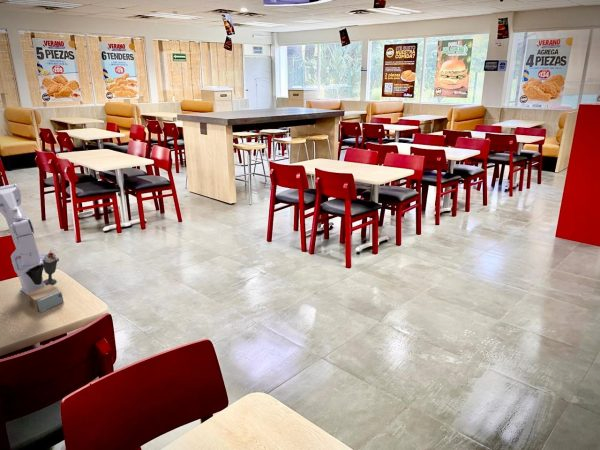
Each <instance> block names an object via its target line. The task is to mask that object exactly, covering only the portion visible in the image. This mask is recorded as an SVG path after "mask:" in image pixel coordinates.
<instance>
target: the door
mask: <svg viewBox="0 0 600 450" xmlns="http://www.w3.org/2000/svg"><path fill="white" fill-rule="evenodd" d="M64 302H65V301H64V297H63V294H62V291H61V290H60V291H59V292H56V293H54V294H52V295H49V296H47V297H45V298H42V299H40V300H38V301H37V304H38V307H39V311H40V312H39V313H42V312H44V311H47V310H49V309H51V308H53V307H55V306H58V305H60V304H63V303H64Z"/></svg>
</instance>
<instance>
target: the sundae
mask: <svg viewBox="0 0 600 450" xmlns="http://www.w3.org/2000/svg"><path fill="white" fill-rule="evenodd" d="M46 254H47V257H48V258H47V259H44V260H43V264H44V268H43V271H44V273H46V274H47V275H48V277H47V279H45V280H44V279H43V281H44V284H45V285H49V284H51V285H53V284H56V283H57V280H56V279H55V278H53V277H52V276H53V274H55V273H56V270H57V263H58V262H60V258H59V257H57V256H56V253H54V252H52V250H50V251H49V253H46Z"/></svg>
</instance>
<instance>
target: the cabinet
mask: <svg viewBox="0 0 600 450" xmlns="http://www.w3.org/2000/svg"><path fill="white" fill-rule="evenodd" d="M45 285H46V286H43V287H41V288H38V289H36V290H33V291H31V292H28V293H26V294H25V295H26V300H27V302H28V304H29V306H30V307H32V308H33V309H34V310H35V311H37V312H38V313H41V312H40V311H39V307H38V304H37V301H38V300H40V299H42V298H45V297H47V296H49V295H52V294H54V293H56V292H59V291H61V290H60V289H58V288H57V287H55V286H53V284H45Z"/></svg>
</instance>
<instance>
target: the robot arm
mask: <svg viewBox="0 0 600 450" xmlns="http://www.w3.org/2000/svg"><path fill="white" fill-rule="evenodd" d="M21 195H22V194H21V190H20V188H19V185H18V184H16V183H13V184H7V185H3V186H0V211H1V213H2V214H3V216H4V218H5V220H6V223H7V227H8V230H9V231H10V235H11V237H12V241H13V244H14V246H15V250H14V251H13V252H12V253H11V255H10V259H11V264H12V266H13V270H14V272H15V273H16V275H17V277H18V278H19V281H20V284H21V287H20V288H19V290H20V291H22V292H23V293H24V294H25V295H26V293H28V292H31V291H33V290H36V289H38V288H41V287H43V286H46V285H47V284H45V283H44V278H43V272H44V264H43V260H44V259H47V258H48V257H47V254H48V253H41V254H40V252H39V250H38V247H37V243H36V240H35V235H34V234H35V228H34V225H33V223H32V221H31V219H30V218H29V217H27V215H26V212H25V210H24V209H22V208H21V207H19V206H21V205H22V196H21Z"/></svg>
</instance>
